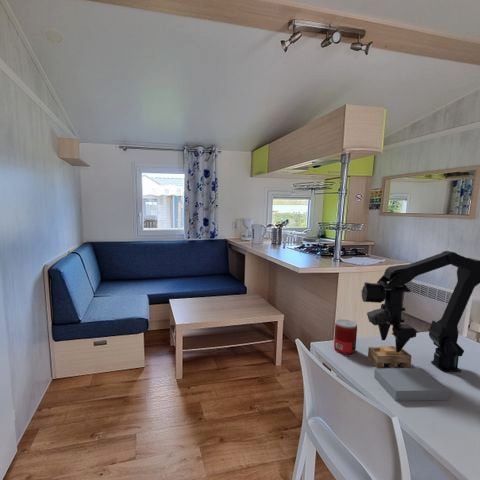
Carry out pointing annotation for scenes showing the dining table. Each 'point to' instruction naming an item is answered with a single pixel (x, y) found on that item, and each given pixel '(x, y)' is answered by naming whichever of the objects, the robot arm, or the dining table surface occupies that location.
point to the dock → (411, 384)
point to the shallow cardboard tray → (389, 358)
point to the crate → (388, 350)
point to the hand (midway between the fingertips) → (390, 345)
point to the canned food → (345, 336)
